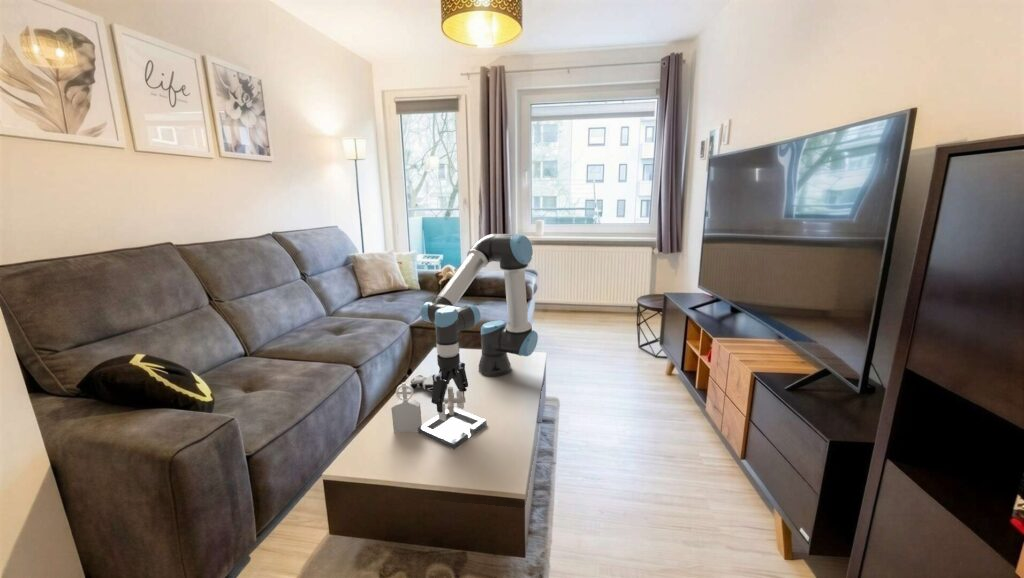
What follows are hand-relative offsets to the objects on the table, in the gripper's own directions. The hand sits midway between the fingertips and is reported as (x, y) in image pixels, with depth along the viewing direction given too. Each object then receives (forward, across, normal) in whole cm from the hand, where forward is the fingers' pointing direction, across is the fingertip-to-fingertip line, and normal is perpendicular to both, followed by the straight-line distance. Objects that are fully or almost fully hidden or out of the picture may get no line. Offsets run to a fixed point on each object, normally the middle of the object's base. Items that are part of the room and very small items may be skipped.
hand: (451, 413), depth 143 cm
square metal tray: (+6, 0, 0) cm, 6 cm away
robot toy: (+6, -18, -31) cm, 36 cm away
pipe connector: (0, 0, 0) cm, 0 cm away
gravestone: (+6, +9, -13) cm, 17 cm away
